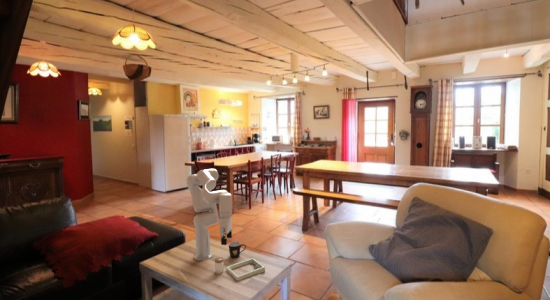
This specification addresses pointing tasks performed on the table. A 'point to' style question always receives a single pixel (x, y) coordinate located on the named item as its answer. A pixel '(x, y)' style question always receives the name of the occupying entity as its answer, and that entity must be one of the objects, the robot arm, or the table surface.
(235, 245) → the coffee mug
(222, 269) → the cylinder
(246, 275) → the tray frame
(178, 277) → the table surface
